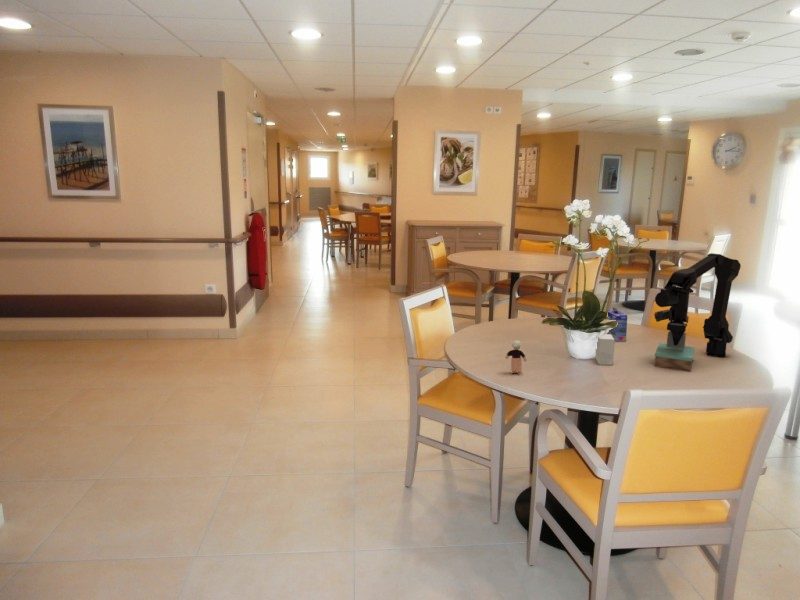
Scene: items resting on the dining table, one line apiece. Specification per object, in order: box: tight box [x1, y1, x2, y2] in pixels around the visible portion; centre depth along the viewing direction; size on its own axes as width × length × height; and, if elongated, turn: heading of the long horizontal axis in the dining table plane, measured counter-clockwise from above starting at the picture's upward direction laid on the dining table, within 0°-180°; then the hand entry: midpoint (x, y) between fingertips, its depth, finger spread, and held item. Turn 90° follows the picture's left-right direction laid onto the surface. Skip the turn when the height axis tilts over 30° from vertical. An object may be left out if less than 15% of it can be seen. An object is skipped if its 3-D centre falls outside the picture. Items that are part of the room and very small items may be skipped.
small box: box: [594, 333, 615, 366], centre depth 209 cm, size 8×6×10 cm
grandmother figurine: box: [504, 340, 527, 375], centre depth 197 cm, size 8×4×13 cm, turn 80°
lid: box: [654, 342, 695, 362], centre depth 207 cm, size 13×16×1 cm
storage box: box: [654, 356, 693, 372], centre depth 208 cm, size 12×16×4 cm
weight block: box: [666, 330, 687, 349], centre depth 206 cm, size 6×5×5 cm
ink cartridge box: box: [607, 307, 628, 342], centre depth 241 cm, size 10×6×14 cm, turn 5°
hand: (676, 343), depth 206 cm, fingers closed on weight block, 5 cm apart
